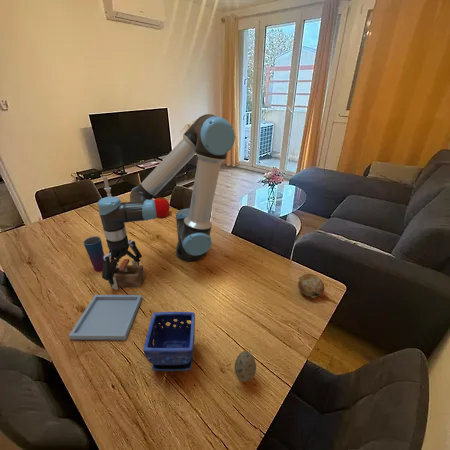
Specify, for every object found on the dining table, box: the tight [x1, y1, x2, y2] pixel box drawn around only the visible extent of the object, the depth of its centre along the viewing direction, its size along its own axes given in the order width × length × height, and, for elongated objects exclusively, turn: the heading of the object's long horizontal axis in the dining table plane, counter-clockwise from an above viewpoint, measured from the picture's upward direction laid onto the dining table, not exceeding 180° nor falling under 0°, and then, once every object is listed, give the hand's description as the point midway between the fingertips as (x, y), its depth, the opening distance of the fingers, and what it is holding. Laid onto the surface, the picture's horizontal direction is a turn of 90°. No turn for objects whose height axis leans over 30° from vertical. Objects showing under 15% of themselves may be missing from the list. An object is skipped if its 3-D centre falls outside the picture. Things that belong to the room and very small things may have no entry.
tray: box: [68, 294, 143, 341], centre depth 87 cm, size 18×18×2 cm
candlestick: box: [102, 175, 112, 197], centre depth 143 cm, size 13×13×30 cm
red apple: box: [153, 197, 171, 218], centre depth 156 cm, size 11×11×13 cm
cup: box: [82, 235, 105, 272], centre depth 109 cm, size 7×7×15 cm
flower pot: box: [143, 311, 196, 372], centre depth 73 cm, size 13×13×12 cm
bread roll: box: [297, 273, 325, 299], centre depth 98 cm, size 10×10×8 cm
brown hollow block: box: [109, 264, 146, 288], centre depth 103 cm, size 12×7×6 cm, turn 90°
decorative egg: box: [234, 350, 257, 382], centre depth 68 cm, size 6×6×10 cm
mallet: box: [119, 258, 130, 274], centre depth 102 cm, size 3×6×10 cm, turn 0°
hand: (126, 280), depth 105 cm, fingers open, 11 cm apart
